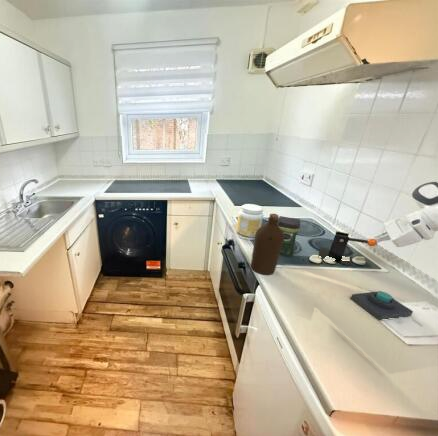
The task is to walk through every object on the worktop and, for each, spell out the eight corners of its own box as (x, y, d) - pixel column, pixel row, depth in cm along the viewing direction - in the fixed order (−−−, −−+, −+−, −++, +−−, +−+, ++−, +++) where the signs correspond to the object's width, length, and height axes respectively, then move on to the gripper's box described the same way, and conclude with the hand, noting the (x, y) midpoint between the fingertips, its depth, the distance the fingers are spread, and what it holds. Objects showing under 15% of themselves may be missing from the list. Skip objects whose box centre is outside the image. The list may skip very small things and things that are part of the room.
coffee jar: (292, 252, 114) (302, 217, 107) (292, 260, 108) (302, 223, 101) (270, 247, 119) (278, 213, 112) (268, 254, 113) (277, 218, 105)
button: (381, 294, 82) (383, 290, 81) (393, 302, 78) (395, 298, 78) (372, 296, 81) (374, 291, 80) (384, 303, 78) (386, 299, 77)
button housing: (378, 295, 86) (382, 286, 85) (410, 316, 77) (415, 307, 76) (350, 299, 85) (353, 290, 83) (379, 320, 76) (383, 311, 74)
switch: (375, 245, 100) (377, 238, 99) (376, 248, 97) (378, 241, 96) (336, 239, 107) (338, 232, 106) (336, 242, 105) (338, 235, 104)
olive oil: (281, 275, 98) (296, 219, 88) (257, 276, 97) (269, 220, 87) (267, 261, 107) (278, 209, 98) (244, 262, 106) (254, 210, 97)
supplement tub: (242, 229, 139) (247, 201, 132) (263, 236, 130) (269, 207, 124) (231, 235, 131) (235, 206, 125) (252, 243, 123) (258, 213, 116)
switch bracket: (349, 258, 109) (359, 234, 104) (351, 268, 102) (361, 242, 97) (318, 251, 116) (326, 227, 111) (317, 259, 109) (326, 234, 104)
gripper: (407, 208, 98) (367, 225, 107) (420, 225, 82) (373, 243, 91) (417, 221, 97) (377, 236, 106) (434, 240, 81) (385, 256, 91)
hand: (375, 239), depth 98 cm, fingers closed, pressing on switch
